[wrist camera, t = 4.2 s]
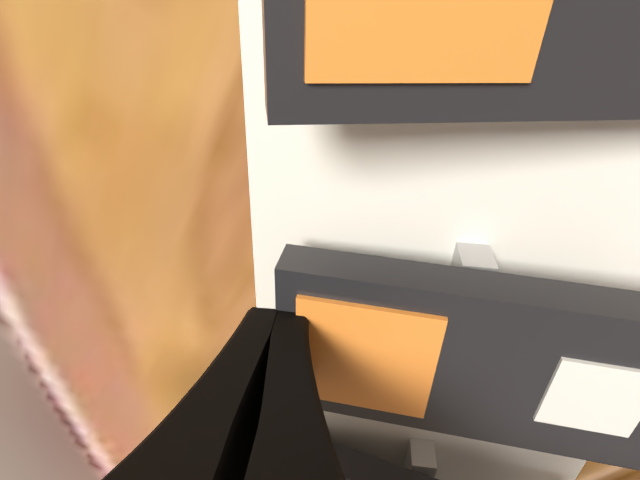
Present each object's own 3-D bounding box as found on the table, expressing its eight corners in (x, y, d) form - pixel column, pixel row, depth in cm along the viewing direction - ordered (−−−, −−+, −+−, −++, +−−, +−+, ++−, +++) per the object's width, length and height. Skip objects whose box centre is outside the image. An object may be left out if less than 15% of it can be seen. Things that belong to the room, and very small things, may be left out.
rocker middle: (630, 433, 11) (649, 477, 10) (287, 373, 13) (277, 406, 12) (721, 302, 9) (754, 342, 8) (286, 243, 10) (272, 272, 9)
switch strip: (521, 510, 20) (539, 576, 18) (275, 480, 20) (264, 540, 18) (1029, -427, 6) (1376, -629, 4) (239, -411, 7) (178, -572, 5)
